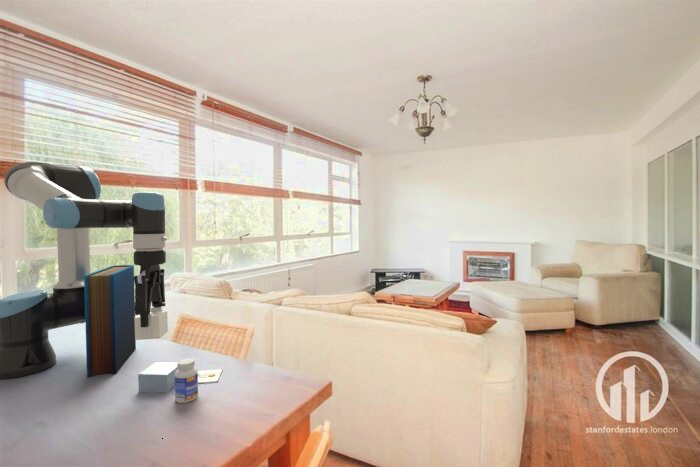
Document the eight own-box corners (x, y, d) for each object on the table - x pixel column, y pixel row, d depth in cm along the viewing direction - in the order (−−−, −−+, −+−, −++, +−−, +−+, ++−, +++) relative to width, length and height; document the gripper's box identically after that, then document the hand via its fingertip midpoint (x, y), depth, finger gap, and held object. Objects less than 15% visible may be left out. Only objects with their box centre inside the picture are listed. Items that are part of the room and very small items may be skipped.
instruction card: (179, 384, 97) (179, 383, 97) (187, 372, 105) (187, 371, 105) (217, 382, 99) (217, 380, 99) (222, 370, 107) (222, 368, 106)
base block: (138, 392, 93) (138, 374, 93) (156, 378, 101) (156, 361, 101) (167, 393, 93) (167, 374, 93) (183, 379, 101) (182, 362, 101)
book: (110, 349, 124) (107, 265, 123) (138, 346, 127) (136, 264, 125) (81, 378, 101) (77, 275, 100) (116, 374, 104) (113, 274, 103)
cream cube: (135, 340, 91) (134, 317, 91) (144, 332, 97) (144, 311, 96) (159, 338, 92) (158, 316, 92) (167, 331, 98) (167, 310, 97)
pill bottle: (189, 404, 87) (188, 366, 86) (170, 402, 88) (169, 364, 87) (202, 394, 92) (202, 358, 91) (184, 392, 93) (183, 356, 93)
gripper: (149, 252, 85) (152, 345, 85) (176, 246, 103) (178, 323, 104) (116, 253, 83) (118, 347, 84) (149, 247, 102) (151, 324, 103)
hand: (151, 334), depth 94 cm, fingers closed on cream cube, 6 cm apart
